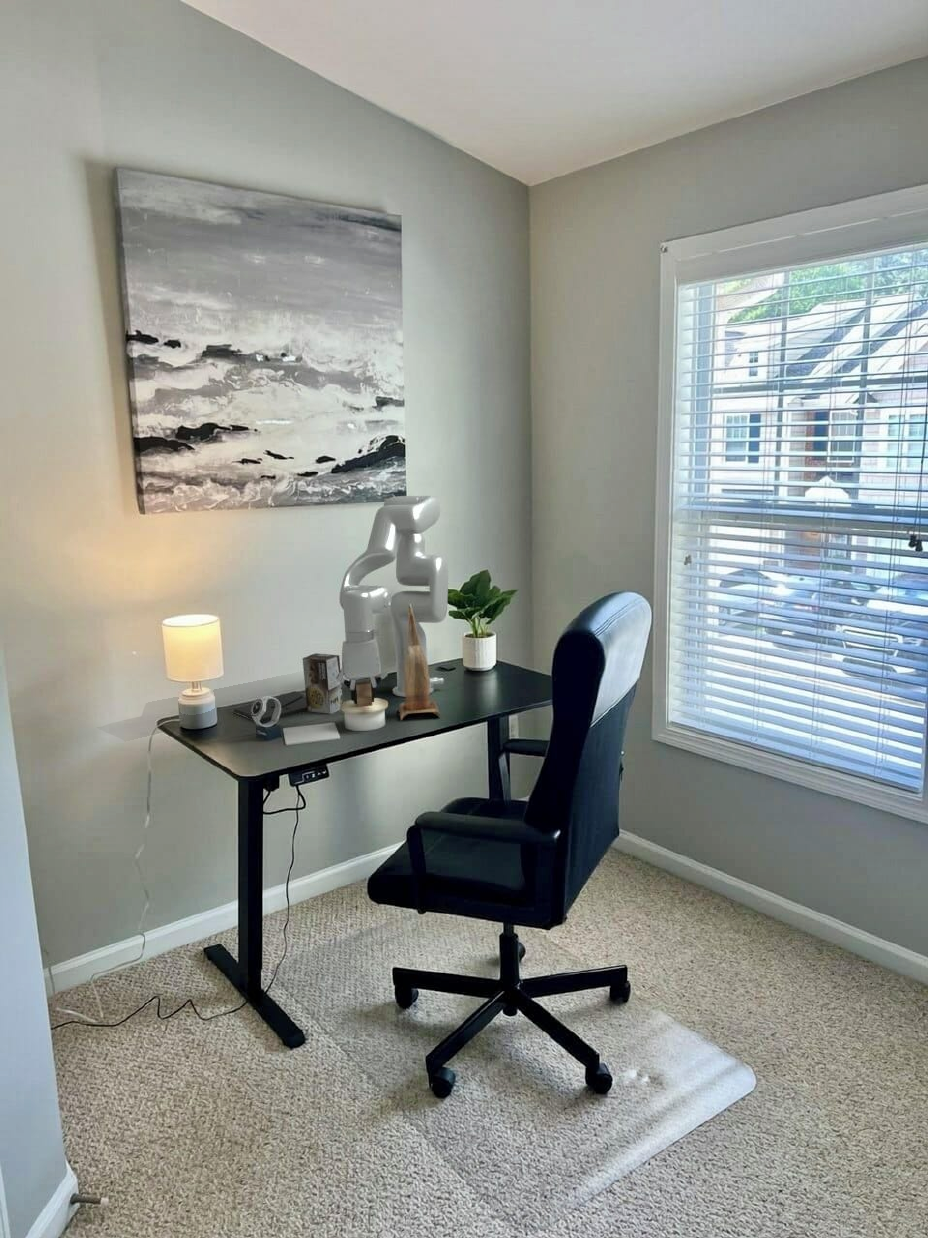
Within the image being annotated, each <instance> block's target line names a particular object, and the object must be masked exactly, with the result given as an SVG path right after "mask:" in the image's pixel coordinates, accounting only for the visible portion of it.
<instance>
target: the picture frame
mask: <svg viewBox="0 0 928 1238" xmlns="http://www.w3.org/2000/svg"><path fill="white" fill-rule="evenodd" d="M275 698H276V699H277V700H278V701H279V702H280V704H281V714H280V717H279V719H278V720H280V719H283V718H288V717H292V716H296V715H299V713H300V714H303V712H304V713H307V711H308V707H307V703H306V696H304V694H303V693H300V692H298V691H295V690H294V691H291V692H286V693H281V694H280V695H279V696H278V697H275ZM252 705H253V703H250V704H245V705H242V706H237V707H234V708H233V713H234V712H236V713H239V714H241V715H244V716H246V717H248V718H250V719H252V720H251V721H253V718H252V715H251V707H252ZM275 705H276V704H275V701H274V700H273V699H272V698H271V699H267V703H266V711H265V712H264V714H263V715H262V716H261V719H260V720H259V721H260V723H261V724H263V723H267V722H271V720H272V719H271V718H272V716H273V713H274V709H275ZM308 712H309V711H308ZM236 713H235V714H236ZM241 715H240V716H241ZM246 717H245V718H246ZM248 718H247V719H248ZM250 719H249V720H250Z"/></svg>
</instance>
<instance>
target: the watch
mask: <svg viewBox="0 0 928 1238" xmlns="http://www.w3.org/2000/svg"><path fill="white" fill-rule="evenodd" d="M276 698H277V697H273V696H270V695H264V696H261V697H259V698H257V699H255V701H254V702H253V703H252V704H253V705H252V707H251V715H252V718H253V720H254V723H255V724H256V725H255V735H256V738H258V737H259V738H258V739H261V740H264V741H267V742H269V741H272V740H276V739H279V738H283V737H282V736H283V735H282V725H281V724H277V723H278V722H279V720H280V719H279V717H280V714H281V704H280V702H279V701H278V700H277V699H276ZM270 699H273V700H274V701H275V704H276V705H275V709H274V713H273V716H272V718H271V719H272V720H271V721H269V722H265V723H260V721H259V720H260V719H261V716H262V715H263V714H264V712H265V711H266V703H267V700H270ZM253 720H252V721H253Z"/></svg>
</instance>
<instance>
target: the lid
mask: <svg viewBox="0 0 928 1238" xmlns="http://www.w3.org/2000/svg"><path fill="white" fill-rule="evenodd" d="M355 689H356V693H357V704H354V701H351V699H350V700H346V701H343V703H342V704H341V705H340V710H339V711H341V712H342V713H343V714H344V713H348V714H369V713H375V712H379V711H382V710H384V709H385V710H386V709H387V708H388V707H389V702H388V701H387V700H386V699H383V698H379V697H376V698H374V702H372V692H371V682H370V680H363V681H355Z"/></svg>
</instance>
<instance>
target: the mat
mask: <svg viewBox="0 0 928 1238" xmlns="http://www.w3.org/2000/svg"><path fill="white" fill-rule="evenodd" d="M282 731H283V732H282V733H283V738H284V741H285V746H295V745H302V744H309V743H311V744H312V743H318V742H319V743H320V742H327V741H328V742H329V741H335V740H337V741H338V740H341V736H340V733H339V731H338V728H337V726H336V723H335V722H327V723H319V724H311V725H310V724H309V725H300V726H293V727H292V726H291V727H285V728H284V727H283V728H282Z"/></svg>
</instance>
